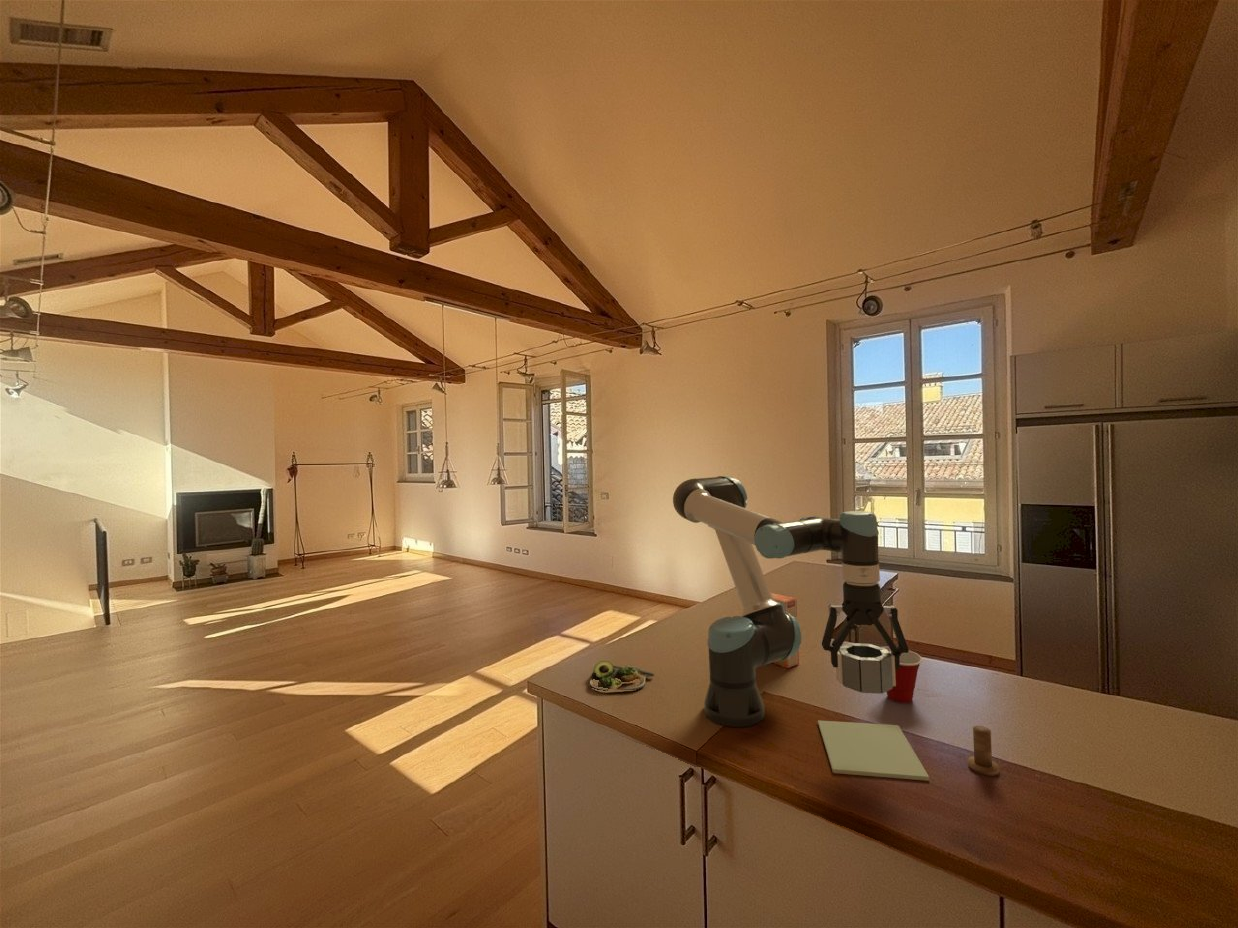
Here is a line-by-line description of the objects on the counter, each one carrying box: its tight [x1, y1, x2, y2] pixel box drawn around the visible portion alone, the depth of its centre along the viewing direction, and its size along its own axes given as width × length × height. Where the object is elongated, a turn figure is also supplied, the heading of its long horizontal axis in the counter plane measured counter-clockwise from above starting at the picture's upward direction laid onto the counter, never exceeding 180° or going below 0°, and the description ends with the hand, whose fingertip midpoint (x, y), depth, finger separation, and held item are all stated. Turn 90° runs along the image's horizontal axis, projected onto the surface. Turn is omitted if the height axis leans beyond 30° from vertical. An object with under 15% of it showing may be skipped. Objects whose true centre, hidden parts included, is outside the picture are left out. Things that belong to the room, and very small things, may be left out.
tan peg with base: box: [967, 725, 1000, 777], centre depth 107 cm, size 5×5×8 cm
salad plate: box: [588, 660, 655, 691], centre depth 157 cm, size 19×18×5 cm
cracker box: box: [770, 592, 800, 669], centre depth 166 cm, size 14×6×21 cm, turn 33°
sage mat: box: [817, 720, 930, 782], centre depth 115 cm, size 18×20×1 cm
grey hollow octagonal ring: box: [839, 642, 893, 694], centre depth 115 cm, size 10×10×7 cm
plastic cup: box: [881, 646, 923, 704], centre depth 137 cm, size 11×11×12 cm
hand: (865, 682), depth 115 cm, fingers closed on grey hollow octagonal ring, 10 cm apart
